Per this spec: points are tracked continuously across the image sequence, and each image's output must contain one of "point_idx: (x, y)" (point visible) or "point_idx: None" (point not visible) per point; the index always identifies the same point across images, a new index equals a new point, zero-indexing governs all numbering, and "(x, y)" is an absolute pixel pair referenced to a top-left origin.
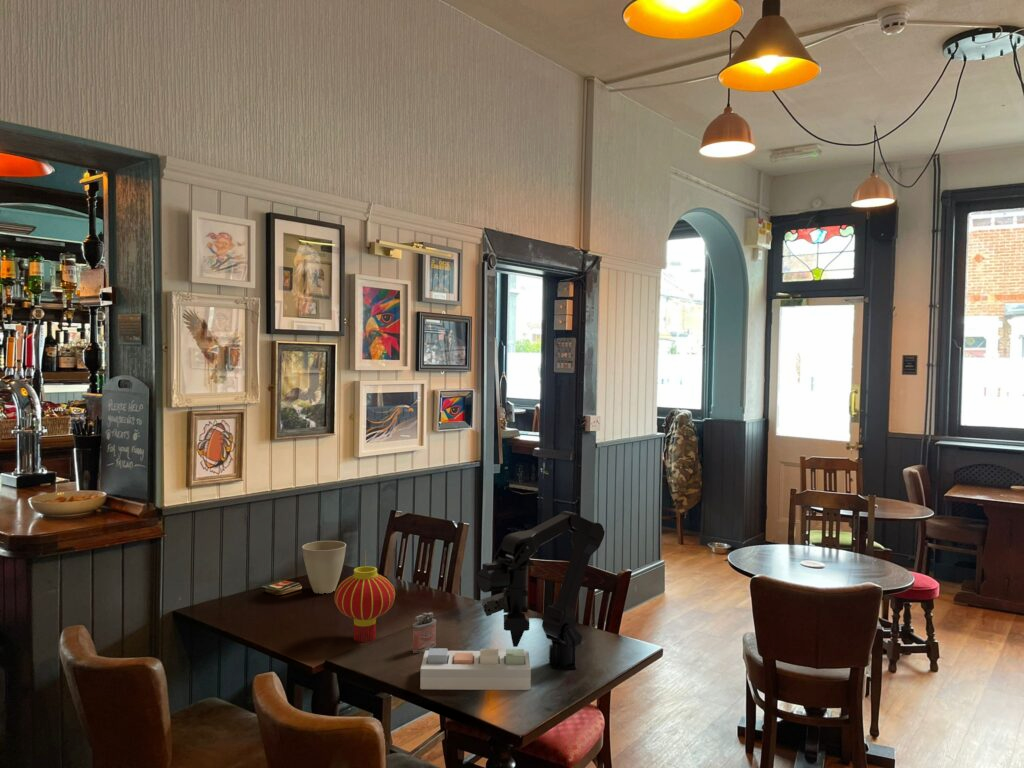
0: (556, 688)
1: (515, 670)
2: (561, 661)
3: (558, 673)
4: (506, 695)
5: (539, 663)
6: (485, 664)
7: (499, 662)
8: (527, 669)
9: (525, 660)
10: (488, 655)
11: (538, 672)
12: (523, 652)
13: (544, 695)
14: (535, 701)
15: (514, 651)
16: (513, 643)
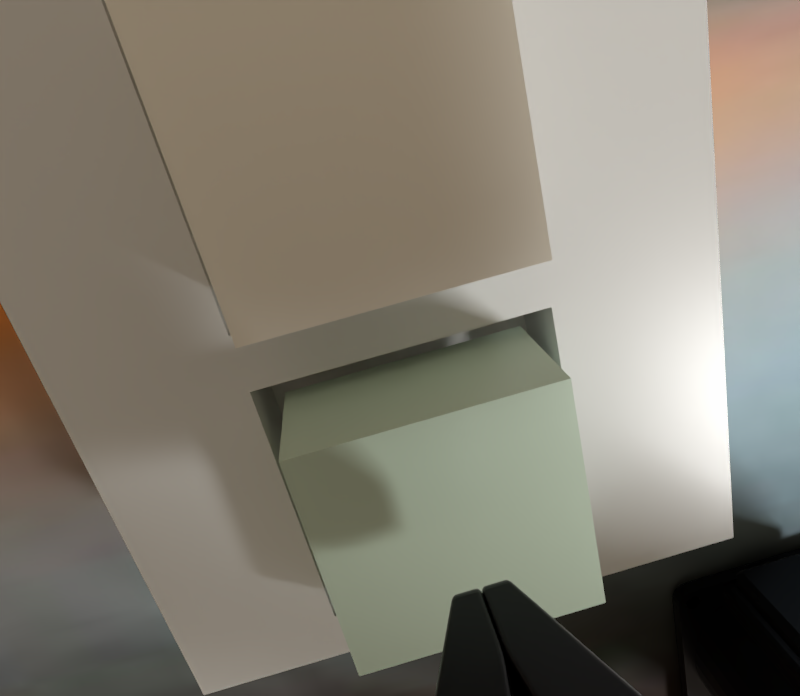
0: (332, 688)
1: (139, 554)
2: (719, 680)
3: (599, 637)
4: (34, 394)
5: (775, 475)
6: (139, 119)
7: None
8: (204, 665)
9: None
10: (179, 165)
11: None
12: None
13: (177, 653)
14: (37, 628)
15: (490, 523)
16: (445, 653)
